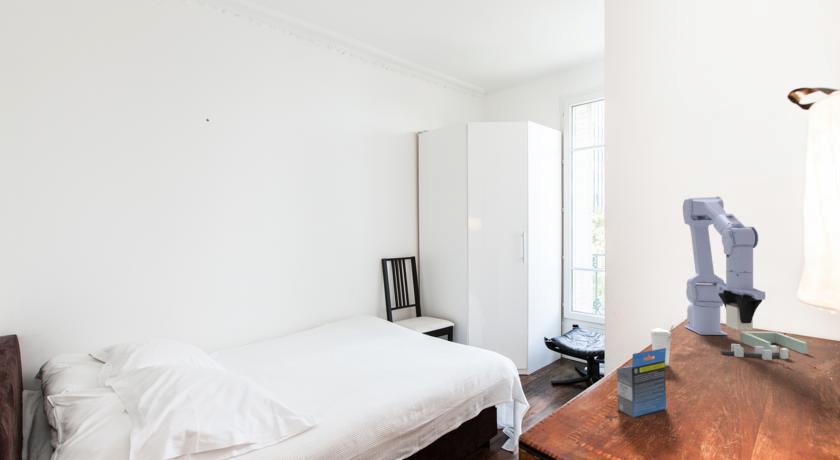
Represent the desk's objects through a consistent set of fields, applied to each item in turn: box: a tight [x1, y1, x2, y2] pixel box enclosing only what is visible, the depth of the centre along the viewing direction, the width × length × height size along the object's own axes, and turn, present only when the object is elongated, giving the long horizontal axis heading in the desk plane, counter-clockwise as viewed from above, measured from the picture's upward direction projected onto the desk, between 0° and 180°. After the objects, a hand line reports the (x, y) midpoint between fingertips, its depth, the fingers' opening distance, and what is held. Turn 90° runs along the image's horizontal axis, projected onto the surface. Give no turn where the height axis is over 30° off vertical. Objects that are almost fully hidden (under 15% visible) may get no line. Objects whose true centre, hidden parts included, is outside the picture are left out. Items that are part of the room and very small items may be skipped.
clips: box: [730, 343, 789, 361], centre depth 105 cm, size 6×12×2 cm, turn 84°
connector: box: [725, 303, 754, 331], centre depth 107 cm, size 4×4×7 cm
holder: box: [739, 331, 808, 355], centre depth 111 cm, size 10×10×3 cm
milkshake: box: [650, 325, 674, 367], centre depth 100 cm, size 4×5×10 cm
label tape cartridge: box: [616, 348, 667, 418], centre depth 77 cm, size 9×4×12 cm, turn 110°
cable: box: [719, 349, 790, 359], centre depth 105 cm, size 4×17×1 cm, turn 84°
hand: (739, 320), depth 107 cm, fingers closed on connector, 4 cm apart
